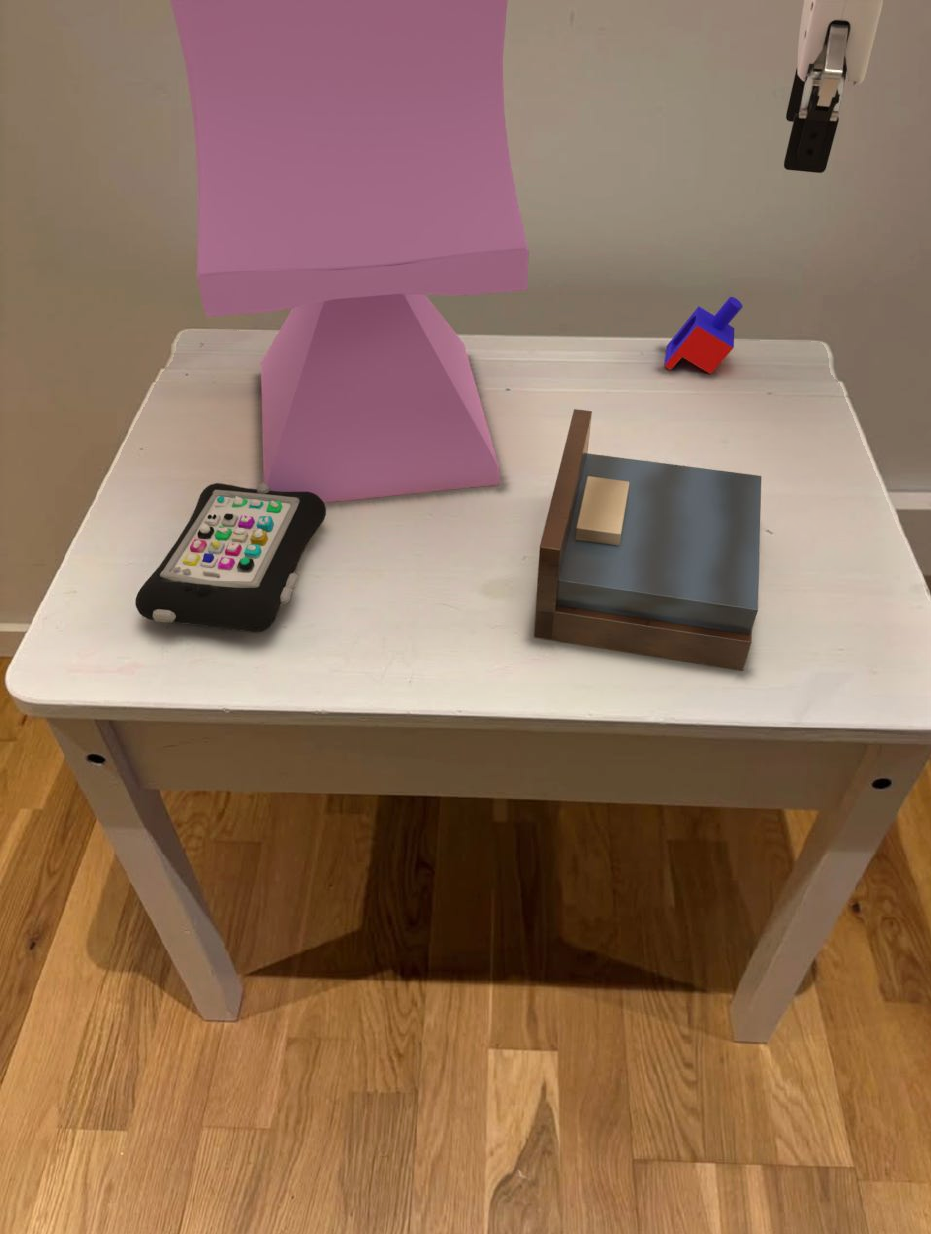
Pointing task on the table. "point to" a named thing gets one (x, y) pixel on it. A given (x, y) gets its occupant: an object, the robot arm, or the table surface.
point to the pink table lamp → (356, 225)
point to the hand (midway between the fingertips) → (804, 144)
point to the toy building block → (704, 338)
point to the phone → (233, 559)
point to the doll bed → (649, 557)
